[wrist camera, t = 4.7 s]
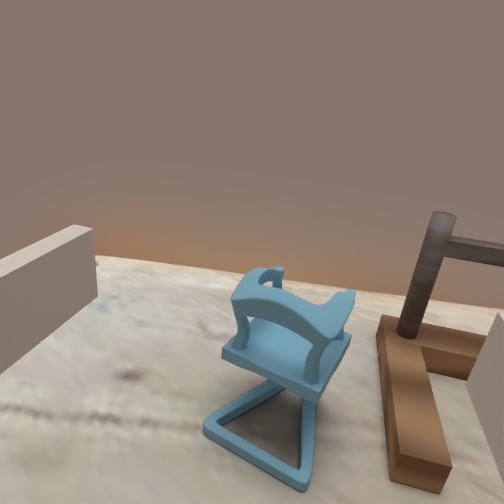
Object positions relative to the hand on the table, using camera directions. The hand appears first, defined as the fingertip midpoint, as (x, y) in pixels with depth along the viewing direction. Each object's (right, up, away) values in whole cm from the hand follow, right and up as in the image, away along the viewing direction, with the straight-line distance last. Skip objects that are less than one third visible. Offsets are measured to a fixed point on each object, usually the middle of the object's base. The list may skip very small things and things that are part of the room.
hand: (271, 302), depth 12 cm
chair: (+1, -11, +15) cm, 19 cm away
